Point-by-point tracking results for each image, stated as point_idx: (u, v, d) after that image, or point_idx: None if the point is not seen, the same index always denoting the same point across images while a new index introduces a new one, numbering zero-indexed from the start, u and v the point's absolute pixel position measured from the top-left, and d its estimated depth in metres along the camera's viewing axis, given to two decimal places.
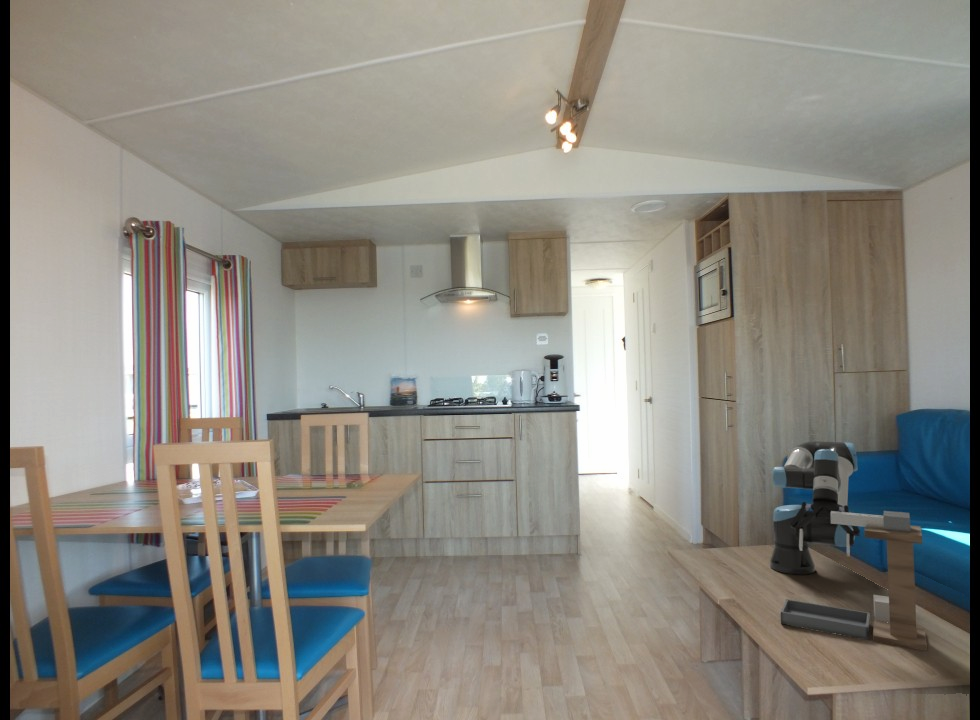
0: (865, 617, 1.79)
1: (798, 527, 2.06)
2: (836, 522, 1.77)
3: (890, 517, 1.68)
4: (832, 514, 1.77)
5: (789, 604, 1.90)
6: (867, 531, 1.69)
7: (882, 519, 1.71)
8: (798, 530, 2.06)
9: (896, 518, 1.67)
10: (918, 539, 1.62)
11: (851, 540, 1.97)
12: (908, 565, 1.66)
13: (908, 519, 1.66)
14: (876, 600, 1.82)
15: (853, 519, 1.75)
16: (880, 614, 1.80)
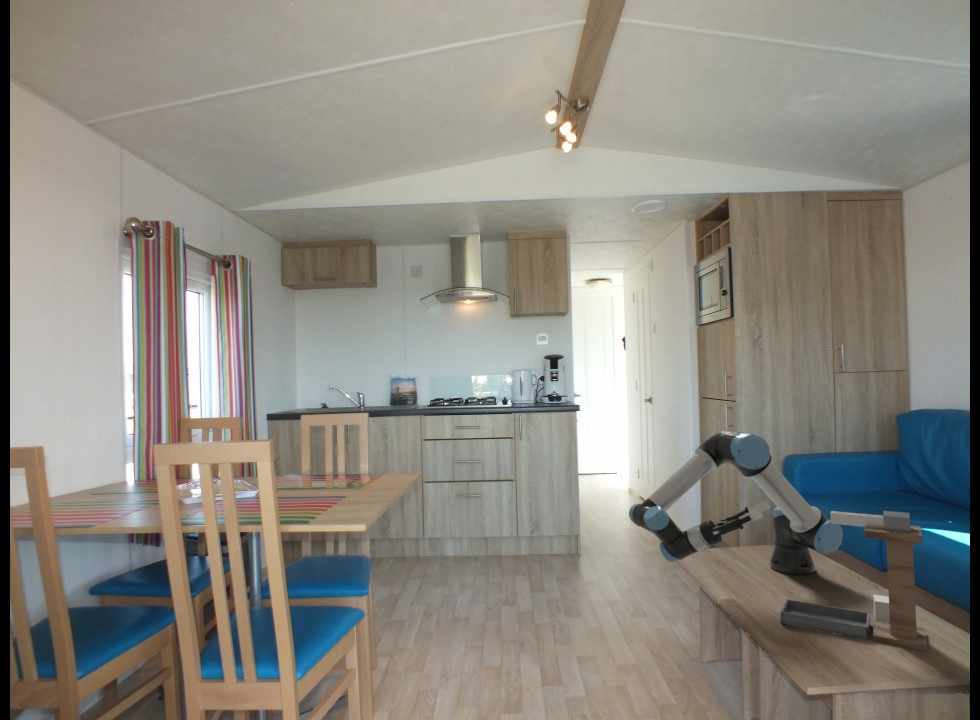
0: (865, 617, 1.79)
1: None
2: (836, 522, 1.77)
3: (890, 517, 1.68)
4: (832, 514, 1.77)
5: (789, 604, 1.90)
6: (867, 531, 1.69)
7: (882, 519, 1.71)
8: None
9: (896, 518, 1.67)
10: (918, 539, 1.62)
11: (747, 521, 1.87)
12: (908, 565, 1.66)
13: (908, 519, 1.66)
14: (876, 600, 1.82)
15: (853, 519, 1.75)
16: (880, 614, 1.80)
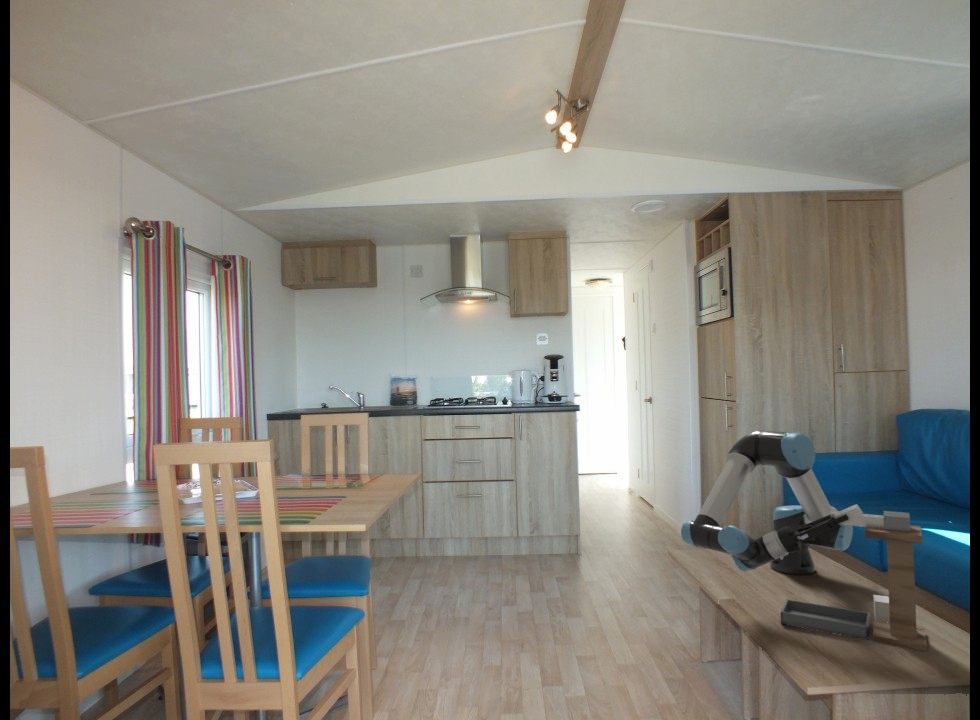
0: (865, 617, 1.79)
1: None
2: None
3: (890, 517, 1.68)
4: (832, 514, 1.77)
5: (789, 604, 1.90)
6: (867, 531, 1.69)
7: (882, 519, 1.71)
8: None
9: (896, 518, 1.67)
10: (918, 539, 1.62)
11: (844, 520, 1.75)
12: (908, 565, 1.66)
13: (908, 519, 1.66)
14: (876, 600, 1.82)
15: (853, 519, 1.74)
16: (880, 614, 1.80)
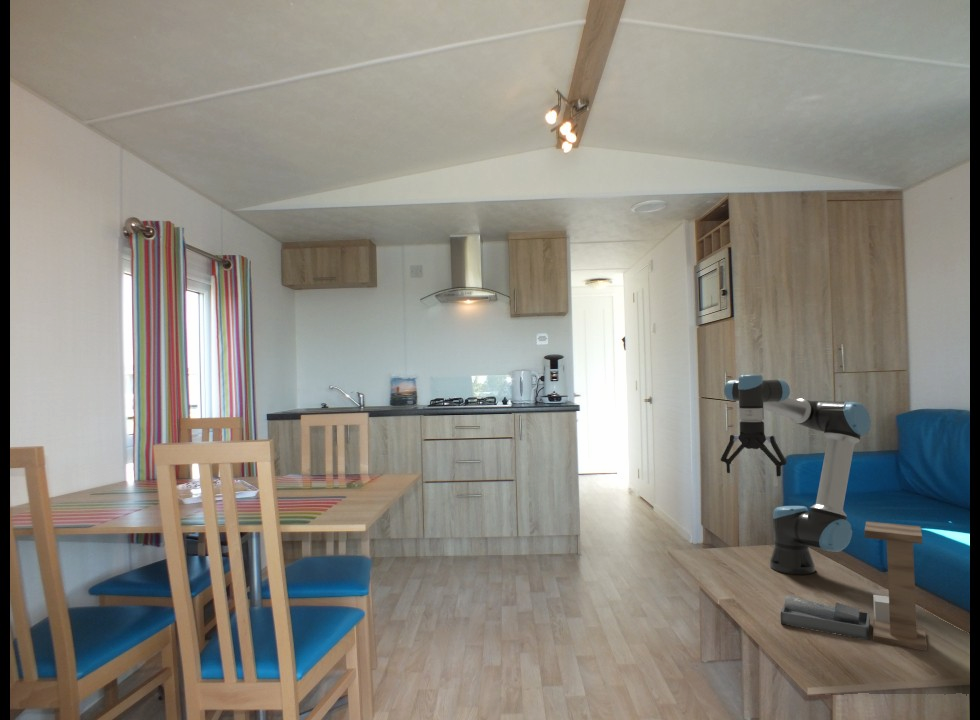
0: (865, 617, 1.79)
1: (728, 462, 2.08)
2: (789, 607, 1.83)
3: (840, 613, 1.74)
4: (786, 599, 1.83)
5: None
6: (867, 531, 1.69)
7: (833, 612, 1.77)
8: (728, 465, 2.08)
9: (846, 615, 1.74)
10: (918, 539, 1.62)
11: (778, 472, 2.00)
12: (908, 565, 1.66)
13: (857, 618, 1.72)
14: (876, 600, 1.82)
15: (805, 607, 1.81)
16: (880, 614, 1.80)
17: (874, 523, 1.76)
